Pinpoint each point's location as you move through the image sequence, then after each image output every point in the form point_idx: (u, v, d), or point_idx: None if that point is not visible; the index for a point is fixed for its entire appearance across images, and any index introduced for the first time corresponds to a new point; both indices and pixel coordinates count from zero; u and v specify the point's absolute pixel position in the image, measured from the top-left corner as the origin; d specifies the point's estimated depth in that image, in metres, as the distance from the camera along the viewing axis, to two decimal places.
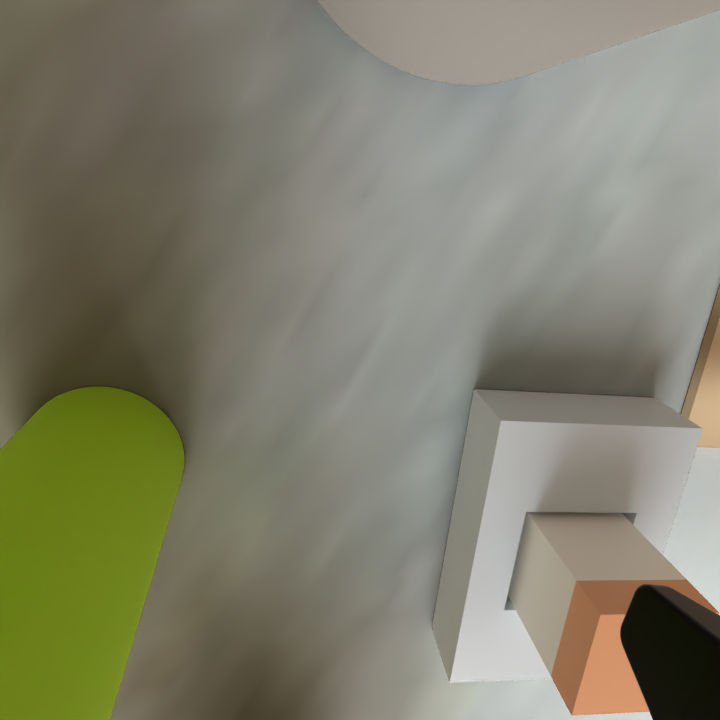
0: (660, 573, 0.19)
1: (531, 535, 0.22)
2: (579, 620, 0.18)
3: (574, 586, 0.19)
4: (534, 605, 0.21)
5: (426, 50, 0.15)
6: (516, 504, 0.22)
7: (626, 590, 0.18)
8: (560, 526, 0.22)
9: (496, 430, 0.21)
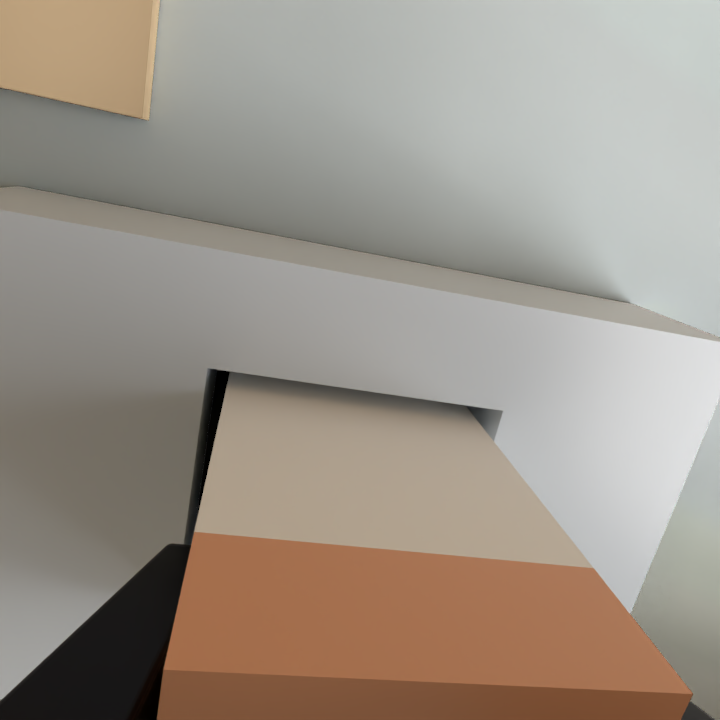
0: None
1: None
2: None
3: None
4: None
5: None
6: None
7: None
8: None
9: None
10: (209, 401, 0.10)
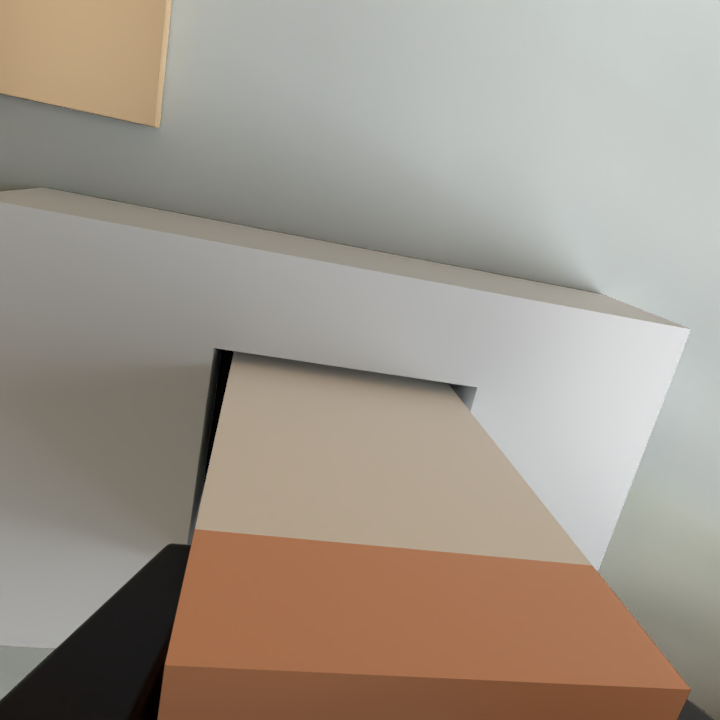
0: None
1: None
2: None
3: None
4: None
5: None
6: None
7: None
8: None
9: None
10: (214, 381, 0.11)
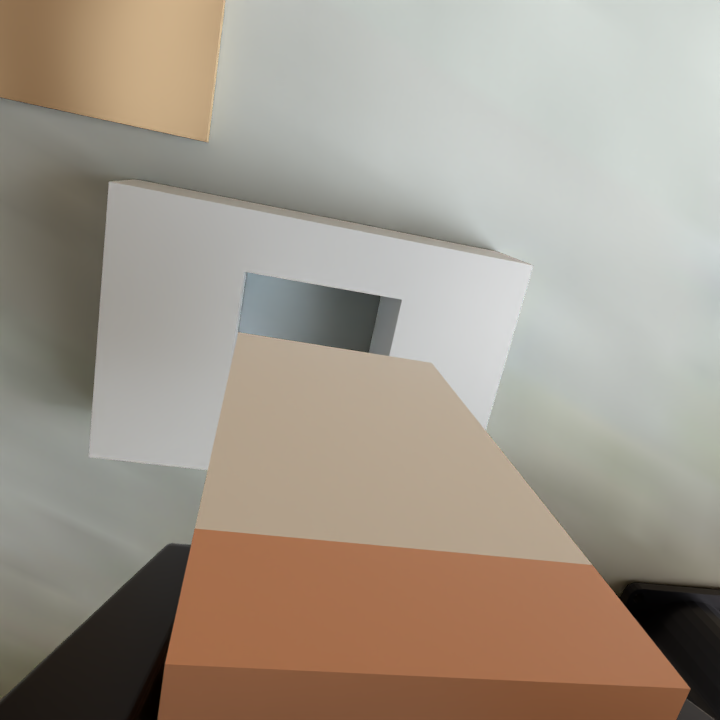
0: None
1: None
2: None
3: None
4: None
5: None
6: (209, 433, 0.17)
7: None
8: None
9: (107, 455, 0.17)
10: (241, 301, 0.18)
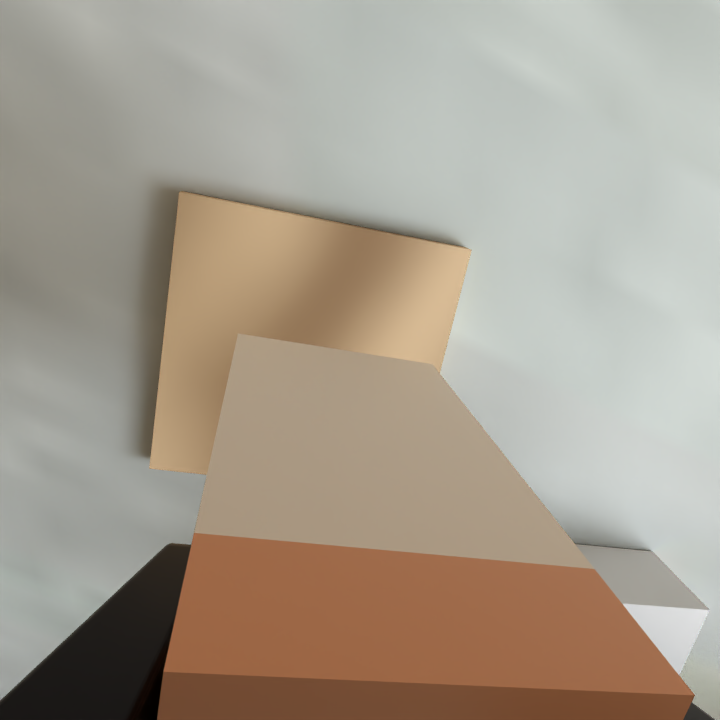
0: None
1: None
2: None
3: None
4: None
5: None
6: None
7: None
8: None
9: None
10: None
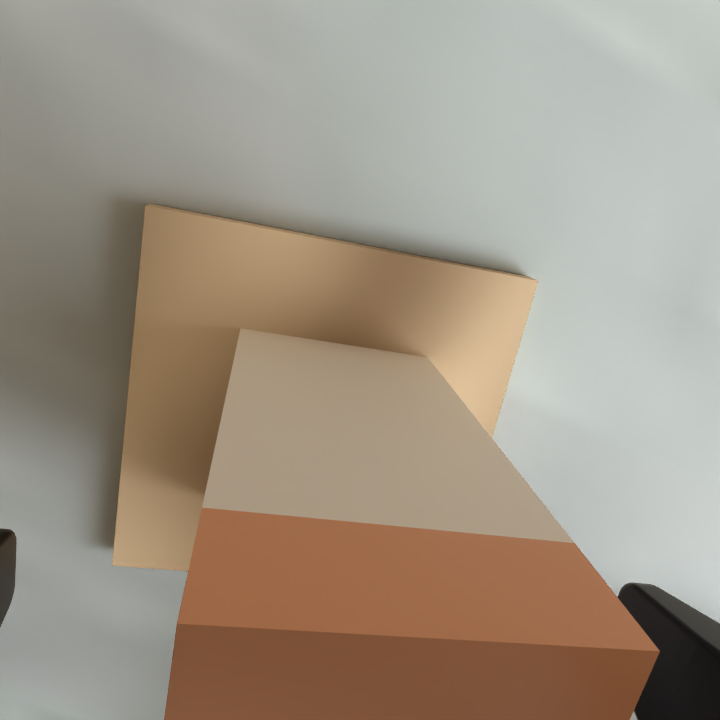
0: None
1: None
2: None
3: None
4: None
5: None
6: None
7: None
8: None
9: None
10: None
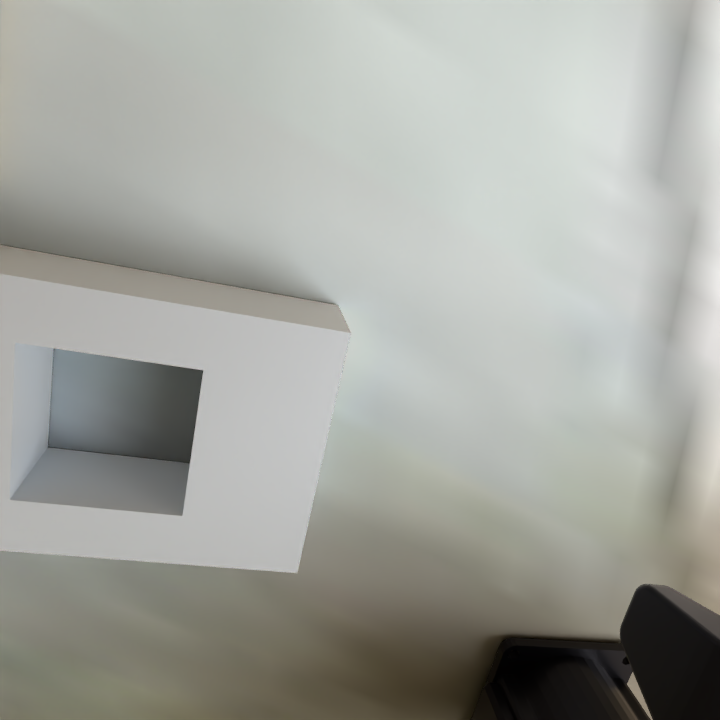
0: None
1: None
2: None
3: None
4: None
5: None
6: None
7: None
8: None
9: None
10: (38, 364, 0.16)
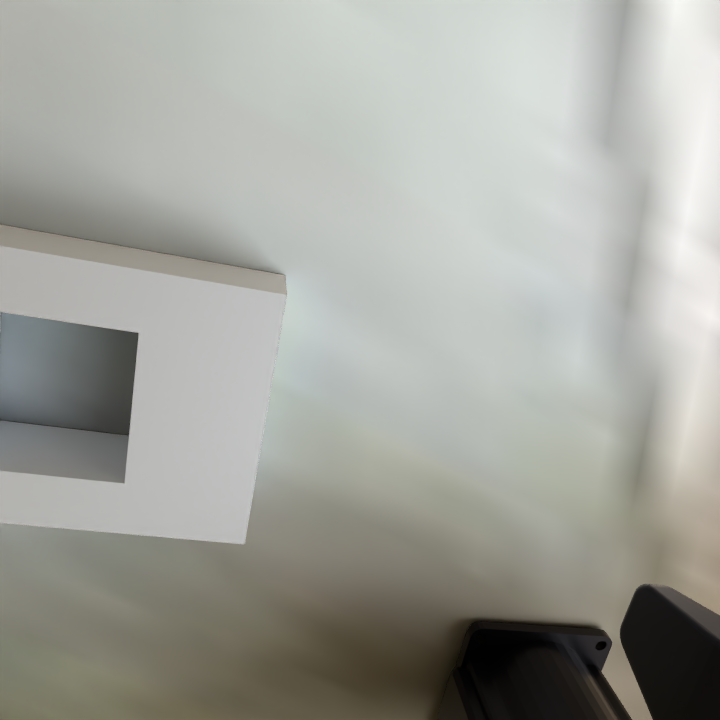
0: None
1: None
2: None
3: None
4: None
5: None
6: None
7: None
8: None
9: None
10: None
